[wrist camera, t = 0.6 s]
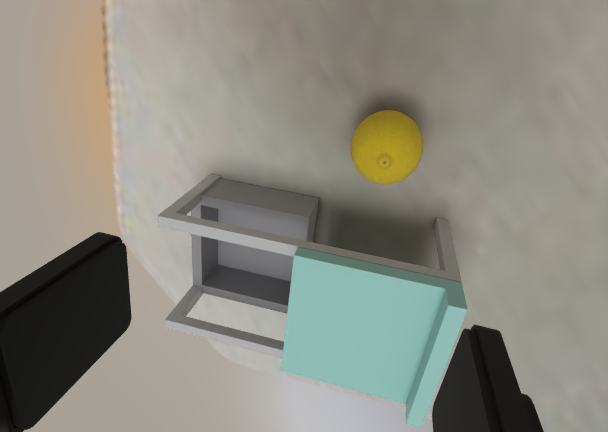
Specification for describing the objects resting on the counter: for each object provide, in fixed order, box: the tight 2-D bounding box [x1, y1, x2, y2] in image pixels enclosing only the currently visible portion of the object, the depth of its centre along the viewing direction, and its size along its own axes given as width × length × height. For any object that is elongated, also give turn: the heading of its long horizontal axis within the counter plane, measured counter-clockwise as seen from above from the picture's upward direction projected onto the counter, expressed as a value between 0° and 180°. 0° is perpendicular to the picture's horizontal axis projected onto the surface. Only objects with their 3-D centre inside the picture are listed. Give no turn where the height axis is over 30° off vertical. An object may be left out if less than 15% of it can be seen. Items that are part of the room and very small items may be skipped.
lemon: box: [351, 110, 423, 184], centre depth 31 cm, size 6×6×8 cm
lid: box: [281, 247, 467, 428], centre depth 30 cm, size 12×12×3 cm
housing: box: [158, 174, 461, 358], centre depth 37 cm, size 12×24×10 cm, turn 84°
